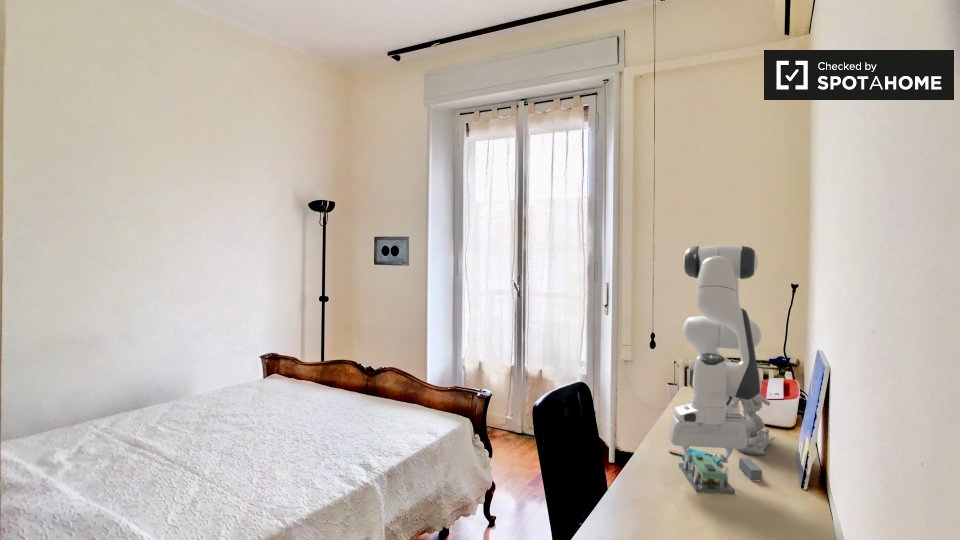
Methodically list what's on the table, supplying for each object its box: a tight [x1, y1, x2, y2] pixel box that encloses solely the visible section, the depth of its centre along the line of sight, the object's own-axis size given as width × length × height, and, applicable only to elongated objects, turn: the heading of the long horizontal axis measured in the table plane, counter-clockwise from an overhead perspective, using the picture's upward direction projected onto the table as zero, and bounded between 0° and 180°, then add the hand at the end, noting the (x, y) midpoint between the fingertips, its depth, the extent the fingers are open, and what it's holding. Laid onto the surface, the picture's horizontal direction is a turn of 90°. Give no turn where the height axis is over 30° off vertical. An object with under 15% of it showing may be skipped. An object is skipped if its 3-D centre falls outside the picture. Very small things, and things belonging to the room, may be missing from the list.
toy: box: [668, 447, 721, 467], centre depth 160 cm, size 7×2×15 cm
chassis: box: [678, 453, 736, 495], centre depth 146 cm, size 16×10×6 cm, turn 175°
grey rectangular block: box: [738, 457, 763, 482], centre depth 150 cm, size 8×3×3 cm, turn 175°
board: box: [690, 455, 724, 479], centre depth 146 cm, size 12×6×2 cm, turn 175°
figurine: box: [731, 391, 776, 456], centre depth 170 cm, size 18×13×18 cm
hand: (706, 461), depth 146 cm, fingers open, 8 cm apart
